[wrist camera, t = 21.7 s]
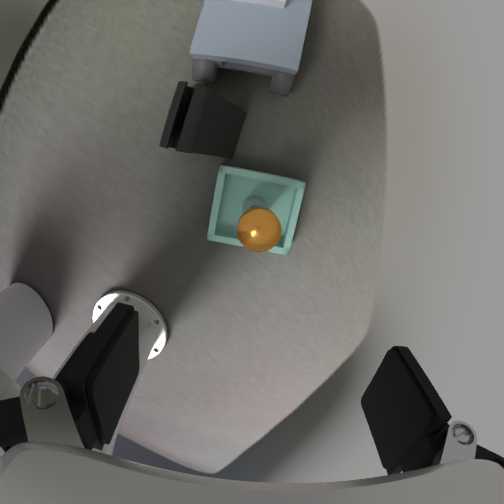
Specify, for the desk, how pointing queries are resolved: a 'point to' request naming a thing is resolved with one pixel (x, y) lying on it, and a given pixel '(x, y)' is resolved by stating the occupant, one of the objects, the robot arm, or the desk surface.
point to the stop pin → (258, 226)
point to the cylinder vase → (22, 327)
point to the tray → (254, 184)
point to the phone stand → (202, 122)
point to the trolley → (251, 39)
